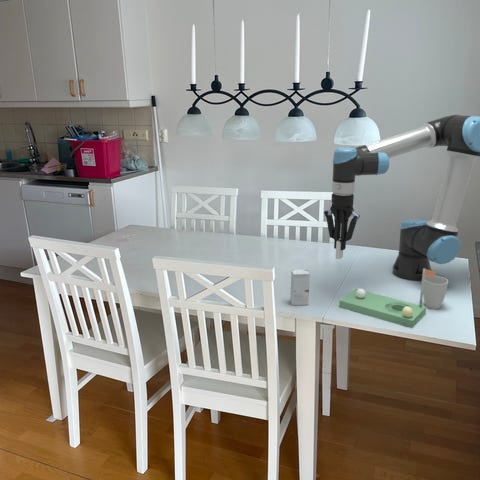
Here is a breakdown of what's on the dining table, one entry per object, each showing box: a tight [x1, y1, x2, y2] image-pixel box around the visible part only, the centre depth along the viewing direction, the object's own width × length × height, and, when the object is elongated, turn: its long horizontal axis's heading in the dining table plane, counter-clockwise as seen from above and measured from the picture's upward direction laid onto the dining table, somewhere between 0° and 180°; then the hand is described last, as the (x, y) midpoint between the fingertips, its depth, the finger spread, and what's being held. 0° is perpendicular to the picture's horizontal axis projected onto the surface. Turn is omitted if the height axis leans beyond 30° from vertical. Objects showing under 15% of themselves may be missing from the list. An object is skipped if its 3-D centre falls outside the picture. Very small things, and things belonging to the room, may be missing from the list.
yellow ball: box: [402, 306, 413, 317], centre depth 158 cm, size 3×3×3 cm
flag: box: [418, 268, 436, 308], centre depth 162 cm, size 1×4×14 cm, turn 52°
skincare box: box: [289, 269, 311, 306], centre depth 174 cm, size 6×4×12 cm
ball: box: [356, 288, 366, 298], centre depth 172 cm, size 3×3×3 cm
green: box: [338, 288, 427, 328], centre depth 169 cm, size 26×13×2 cm, turn 51°
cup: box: [422, 275, 449, 310], centre depth 170 cm, size 8×8×10 cm
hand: (339, 257), depth 174 cm, fingers closed
